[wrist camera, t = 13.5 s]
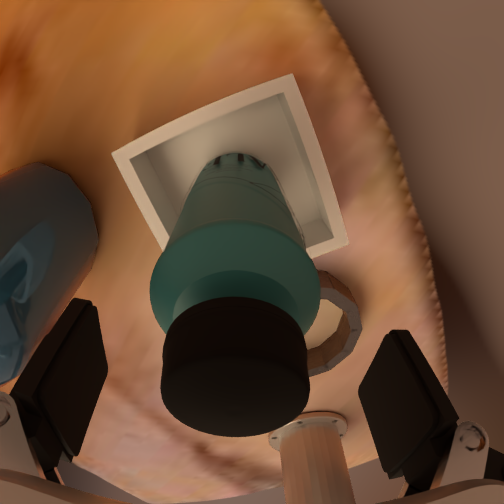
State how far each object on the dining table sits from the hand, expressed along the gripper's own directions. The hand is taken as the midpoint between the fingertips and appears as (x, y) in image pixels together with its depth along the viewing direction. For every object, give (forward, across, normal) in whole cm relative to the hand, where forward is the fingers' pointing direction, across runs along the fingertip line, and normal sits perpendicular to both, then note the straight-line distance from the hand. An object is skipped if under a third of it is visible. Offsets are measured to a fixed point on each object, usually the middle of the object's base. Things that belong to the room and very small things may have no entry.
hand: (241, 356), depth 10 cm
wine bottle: (+19, +19, +5) cm, 27 cm away
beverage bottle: (+18, 0, -1) cm, 18 cm away
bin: (+19, 0, -1) cm, 19 cm away
